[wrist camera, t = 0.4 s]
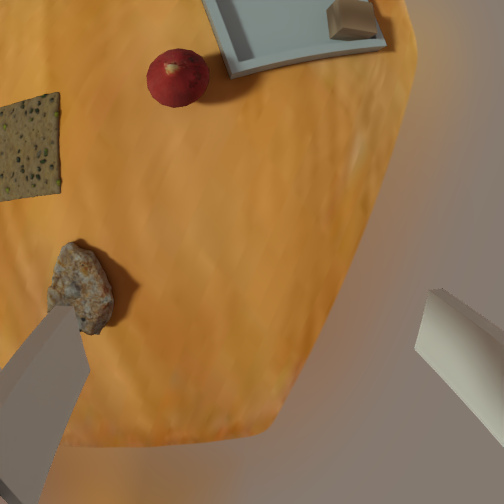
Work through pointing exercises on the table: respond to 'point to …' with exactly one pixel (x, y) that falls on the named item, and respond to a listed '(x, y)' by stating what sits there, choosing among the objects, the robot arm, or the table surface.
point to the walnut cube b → (351, 20)
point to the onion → (177, 78)
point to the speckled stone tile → (30, 148)
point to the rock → (81, 288)
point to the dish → (277, 34)
